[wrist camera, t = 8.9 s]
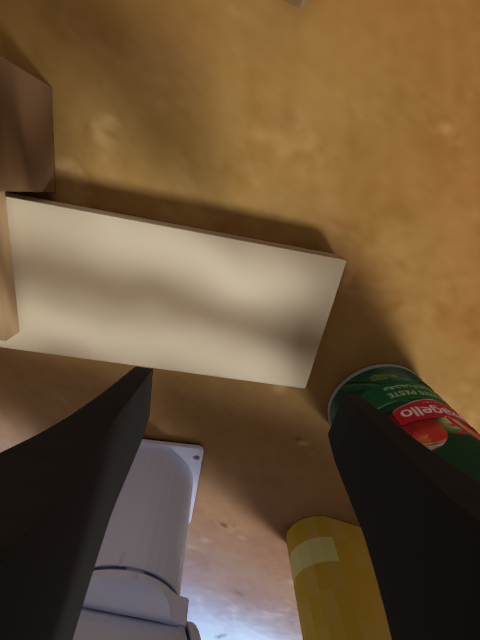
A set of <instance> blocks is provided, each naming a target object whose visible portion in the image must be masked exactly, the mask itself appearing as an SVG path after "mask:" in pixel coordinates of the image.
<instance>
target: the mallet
mask: <svg viewBox="0 0 480 640" xmlns="http://www.w3.org/2000/svg"><path fill="white" fill-rule="evenodd" d="M5 191H12V192H56V184H55V162H54V140H53V119H52V97H51V87H50V86H49V85H47V84H45V83H44V82H42V81H40V80H39V79H37V78H36V77H34V76H32V75H31V74H29V73H27V72H26V71H24V70H23V69H21V68H19V67H18V66H16V65H14V64H13V63H11V62H9V61H8V60H6V59H5V58H3V57H1V56H0V340H2V341H7V340H8V339H10V338H11V337H13V336H14V335H16V334H17V333H19V332H20V329H19V320H18V311H17V301H16V292H15V282H14V273H13V264H12V254H11V245H10V235H9V226H8V216H7V207H6V198H5Z"/></svg>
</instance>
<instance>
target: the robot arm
mask: <svg viewBox="0 0 480 640" xmlns="http://www.w3.org/2000/svg"><path fill="white" fill-rule="evenodd" d="M152 375H153V369H150V368H142V367H135V368H133V369H132V370H131V371H129V372H128V373H127V374H126V375H124V376H123V377H122V378H121V379H119V380H118V381H117V382H116V383H115V384H113V385H112V386H111V387H109V388H108V389H107V390H106V391H104V392H103V393H102V394H100V395H99V396H98V397H96V398H95V399H94V400H92V401H91V402H89V403H88V404H86V405H85V406H83V407H82V408H81V409H79V410H78V411H76V412H75V413H73V414H72V415H70V416H69V417H67V418H65V419H64V420H62V421H61V422H59V423H57V424H56V425H54V426H52V427H50V428H48V429H47V430H45V431H43V432H41V433H40V434H38V435H36V436H34V437H32V438H30V439H28V440H26V441H24V442H22V443H20V444H18V445H16V446H14V447H11V448H9V449H7V450H5V451H3V452H1V453H0V640H201V638H200V634H199V631H198V629H197V627H196V625H195V624H194V623H192V622H188V621H187V612H188V601H189V600H188V598H185V597H182V596H180V590H181V582H182V573H183V565H184V557H185V548H186V540H187V531H188V524H189V523H190V522H191V518H192V512H193V507H194V501H195V496H196V491H197V485H198V480H199V475H200V469H201V464H202V459H203V453H204V449H203V447H202V446H199V445H191V444H182V443H173V442H164V441H155V440H146V439H143V435H144V432H145V429H146V425H147V421H148V418H149V414H150V401H151V388H152ZM328 436H329V440H330V445H331V449H332V453H333V456H334V460H335V463H336V465H337V468H338V471H339V473H340V476H341V478H342V481H343V483H344V486H345V488H346V491H347V493H348V496H349V498H350V501H351V503H352V506H353V508H354V511H355V513H356V516H357V518H358V521H359V524H360V526H361V529H362V532H363V535H364V538H365V541H366V545H367V548H368V551H369V555H370V558H371V561H372V565H373V568H374V572H375V576H376V579H377V583H378V587H379V590H380V594H381V598H382V602H383V605H384V609H385V613H386V618H387V622H388V626H389V630H390V634H391V638H392V640H480V483H479V482H477V481H476V480H474V479H473V478H471V477H470V476H468V475H466V474H465V473H463V472H462V471H460V470H459V469H457V468H456V467H454V466H453V465H451V464H450V463H448V462H447V461H445V460H444V459H442V458H441V457H439V456H438V455H437V454H435V453H434V452H433V451H431V450H430V449H428V448H427V447H426V446H424V445H423V444H422V443H420V442H419V441H418V440H416V439H415V438H414V437H412V436H411V435H410V434H408V433H407V432H406V431H405V430H403V429H402V428H401V427H400V426H398V425H397V424H396V423H394V422H393V421H392V420H391V419H389V418H388V417H387V416H386V415H384V414H383V413H382V412H381V411H379V410H378V409H377V408H376V407H374V406H373V405H372V404H370V403H369V402H368V401H366V400H365V399H364V398H362V397H361V396H359V395H354V394H346V393H343V396H342V398H341V401H340V404H339V407H338V409H337V412H336V415H335V417H334V420H333V423H332V425H331V428H330V431H329V433H328ZM195 455H198V456H195Z"/></svg>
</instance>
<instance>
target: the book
mask: <svg viewBox="0 0 480 640" xmlns="http://www.w3.org/2000/svg"><path fill="white" fill-rule="evenodd" d="M286 542H287V548H288V554H289V560H290V566H291V571H292V577H293V583H294V589H295V595H296V601H297V607H298V613H299V619H300V625H301V630H302V636H303V640H392V638H391V634H390V630H389V626H388V622H387V618H386V613H385V609H384V605H383V602H382V598H381V594H380V590H379V587H378V583H377V579H376V576H375V572H374V568H373V565H372V561H371V558H370V555H369V551H368V548H367V545H366V541H365V538H364V535H363V532H362V529H361V527H358V526H355V525H352V524H349V523H346V522H343V521H339V520H336V519H333V518H330V517H327V516H312V517H308V518H304V519H302V520H300V521H298V522H296V523H295V524H293V525H292V526H291V528H290V529H289V530H288V531H287V536H286Z"/></svg>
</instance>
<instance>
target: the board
mask: <svg viewBox="0 0 480 640" xmlns="http://www.w3.org/2000/svg"><path fill="white" fill-rule="evenodd" d="M5 198H6V207H7V216H8V226H9V235H10V245H11V254H12V264H13V273H14V282H15V292H16V301H17V311H18V320H19V329H20V332H19V333H17V334H16V335H14V336H13V337H11V338H10V339H8V340H7V341H2V340H0V347H3V348H11V349H18V350H25V351H33V352H40V353H47V354H55V355H62V356H69V357H77V358H84V359H92V360H99V361H106V362H114V363H121V364H128V365H136V366H143V367H150V368H158V369H165V370H172V371H180V372H187V373H194V374H202V375H209V376H216V377H224V378H231V379H238V380H246V381H253V382H260V383H268V384H275V385H283V386H290V387H297V388H306V385H307V382H308V379H309V376H310V372H311V369H312V366H313V363H314V360H315V357H316V354H317V351H318V348H319V345H320V342H321V339H322V336H323V332H324V329H325V326H326V323H327V320H328V317H329V314H330V311H331V308H332V305H333V302H334V299H335V295H336V292H337V289H338V286H339V283H340V280H341V277H342V274H343V271H344V268H345V265H346V262H347V260H345V259H343V258H342V257H340V256H338V255H336V254H332V253H327V252H322V251H316V250H311V249H306V248H300V247H295V246H290V245H285V244H279V243H274V242H269V241H263V240H258V239H253V238H247V237H242V236H237V235H231V234H226V233H221V232H216V231H210V230H205V229H200V228H194V227H189V226H184V225H178V224H173V223H168V222H163V221H157V220H152V219H147V218H141V217H136V216H131V215H125V214H120V213H115V212H110V211H104V210H99V209H94V208H88V207H83V206H78V205H72V204H67V203H62V202H56V201H51V200H46V199H41V198H35V197H30V196H25V195H19V194H14V193H9V192H5Z"/></svg>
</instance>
